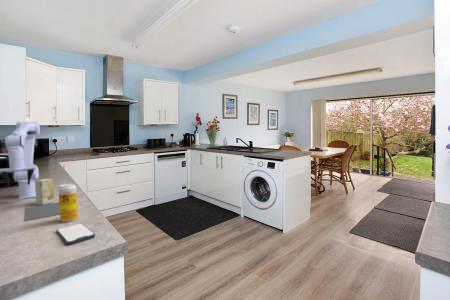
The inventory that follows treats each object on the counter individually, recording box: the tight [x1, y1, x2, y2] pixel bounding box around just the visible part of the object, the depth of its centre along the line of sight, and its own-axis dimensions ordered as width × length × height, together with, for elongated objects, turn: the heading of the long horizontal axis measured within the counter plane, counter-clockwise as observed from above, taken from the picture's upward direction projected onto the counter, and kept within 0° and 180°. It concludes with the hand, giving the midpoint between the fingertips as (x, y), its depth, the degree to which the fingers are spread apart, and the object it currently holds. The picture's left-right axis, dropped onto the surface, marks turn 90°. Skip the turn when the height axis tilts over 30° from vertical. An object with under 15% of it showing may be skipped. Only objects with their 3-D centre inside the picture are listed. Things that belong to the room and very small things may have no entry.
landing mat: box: [24, 202, 60, 222], centre depth 109 cm, size 20×15×1 cm
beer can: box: [58, 183, 79, 223], centre depth 97 cm, size 6×6×15 cm
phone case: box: [56, 223, 96, 246], centre depth 84 cm, size 9×2×16 cm
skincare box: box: [35, 178, 55, 206], centre depth 118 cm, size 6×4×12 cm
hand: (18, 185), depth 118 cm, fingers open, 7 cm apart
